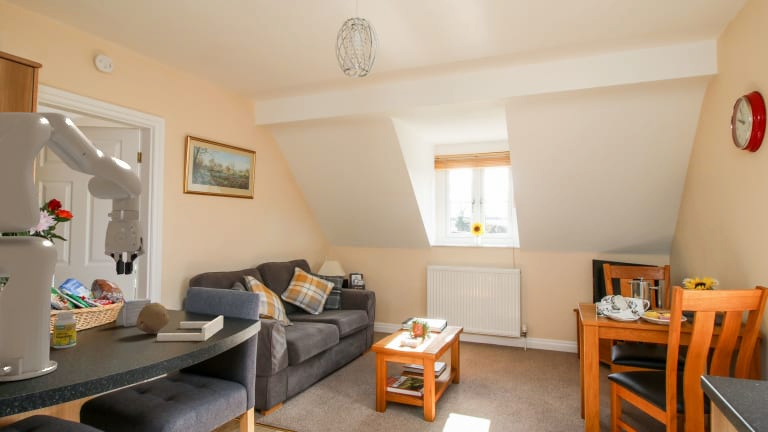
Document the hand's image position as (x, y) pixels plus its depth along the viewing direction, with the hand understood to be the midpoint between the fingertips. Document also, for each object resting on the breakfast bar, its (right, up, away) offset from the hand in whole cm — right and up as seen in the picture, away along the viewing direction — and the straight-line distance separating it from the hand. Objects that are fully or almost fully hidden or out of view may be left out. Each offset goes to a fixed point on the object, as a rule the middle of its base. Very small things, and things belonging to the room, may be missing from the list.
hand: (124, 273), depth 142 cm
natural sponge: (+9, -19, 0) cm, 22 cm away
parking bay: (+21, -19, +1) cm, 28 cm away
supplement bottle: (-8, -19, -15) cm, 26 cm away
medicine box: (-4, -20, +14) cm, 25 cm away
